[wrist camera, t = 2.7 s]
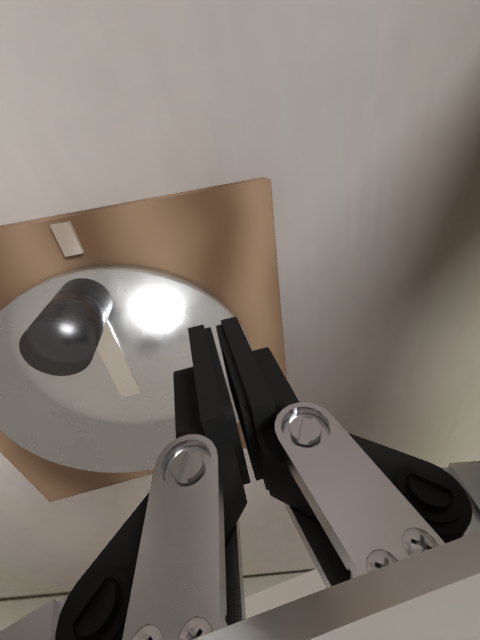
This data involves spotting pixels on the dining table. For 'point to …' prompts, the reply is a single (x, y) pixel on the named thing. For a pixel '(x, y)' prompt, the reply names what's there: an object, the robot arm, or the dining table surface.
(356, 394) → the dining table surface
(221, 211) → the dial base
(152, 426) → the dial
